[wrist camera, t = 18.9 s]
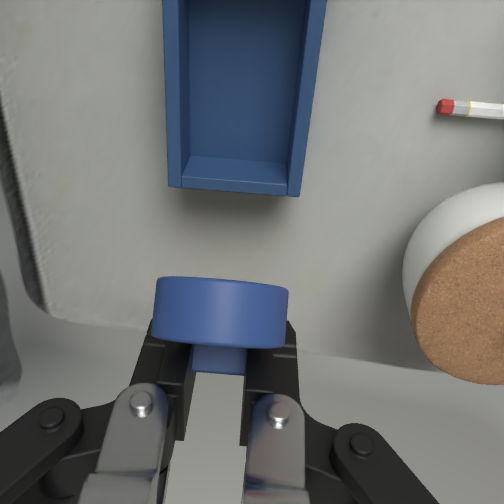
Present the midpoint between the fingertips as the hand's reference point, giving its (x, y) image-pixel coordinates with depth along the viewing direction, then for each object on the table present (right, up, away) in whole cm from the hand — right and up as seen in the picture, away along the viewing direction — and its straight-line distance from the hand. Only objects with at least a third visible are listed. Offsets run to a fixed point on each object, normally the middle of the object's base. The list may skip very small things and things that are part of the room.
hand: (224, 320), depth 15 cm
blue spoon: (0, +1, -1) cm, 2 cm away
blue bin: (0, +12, +10) cm, 15 cm away
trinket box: (+15, +3, +15) cm, 21 cm away
